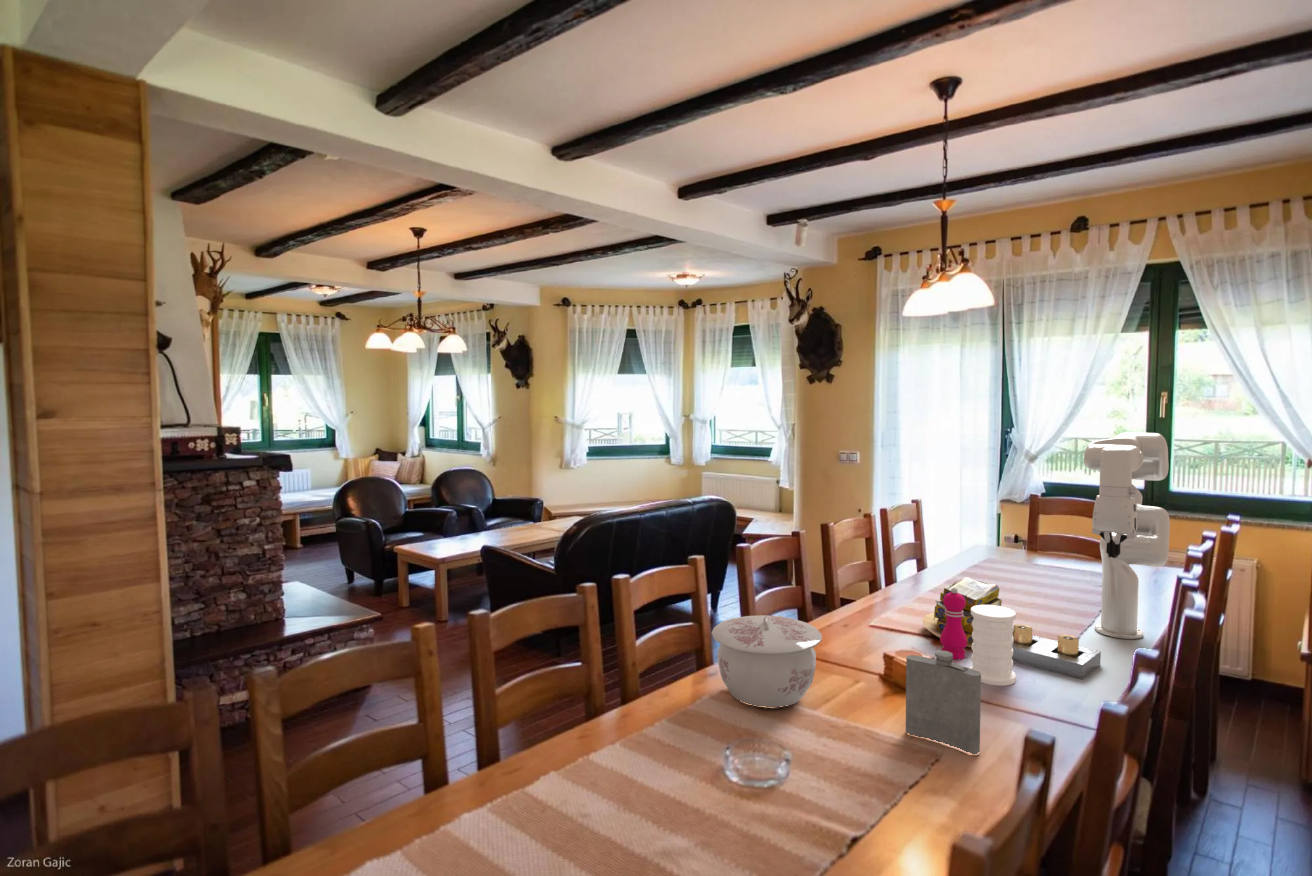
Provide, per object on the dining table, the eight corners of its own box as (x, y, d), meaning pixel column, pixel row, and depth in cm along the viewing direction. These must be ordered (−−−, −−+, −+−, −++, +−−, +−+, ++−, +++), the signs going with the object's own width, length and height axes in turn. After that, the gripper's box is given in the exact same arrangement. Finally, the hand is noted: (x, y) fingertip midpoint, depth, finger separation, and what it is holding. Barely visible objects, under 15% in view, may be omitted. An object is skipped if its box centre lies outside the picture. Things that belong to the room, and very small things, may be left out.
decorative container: (969, 682, 189) (970, 615, 188) (966, 666, 200) (967, 602, 199) (1018, 688, 185) (1020, 619, 184) (1013, 671, 196) (1014, 606, 195)
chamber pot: (753, 732, 164) (752, 643, 162) (692, 688, 188) (691, 610, 186) (847, 706, 176) (847, 623, 175) (778, 667, 201) (778, 594, 199)
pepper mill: (969, 661, 203) (970, 591, 202) (942, 659, 205) (943, 590, 203) (964, 652, 210) (965, 584, 209) (937, 650, 212) (938, 583, 210)
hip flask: (903, 733, 162) (904, 647, 161) (910, 727, 165) (911, 642, 164) (976, 758, 151) (978, 665, 150) (983, 750, 154) (984, 659, 153)
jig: (1010, 643, 217) (1011, 617, 216) (1100, 665, 199) (1101, 637, 198) (990, 655, 208) (990, 627, 207) (1082, 679, 190) (1083, 650, 189)
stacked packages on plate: (1027, 641, 218) (1028, 587, 217) (967, 654, 208) (968, 598, 207) (962, 618, 241) (963, 568, 240) (905, 629, 231) (906, 577, 230)
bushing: (1061, 661, 202) (1061, 633, 202) (1080, 666, 198) (1081, 638, 198) (1054, 666, 199) (1054, 637, 198) (1074, 671, 195) (1074, 642, 195)
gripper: (1150, 493, 198) (1148, 559, 199) (1090, 488, 209) (1088, 550, 210) (1142, 496, 193) (1140, 563, 194) (1080, 490, 204) (1078, 554, 205)
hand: (1113, 556), depth 202 cm, fingers closed
